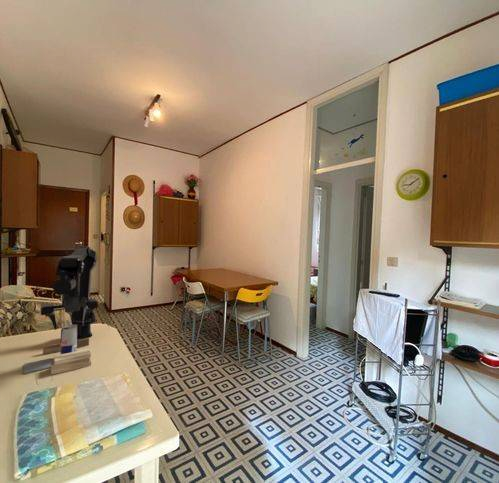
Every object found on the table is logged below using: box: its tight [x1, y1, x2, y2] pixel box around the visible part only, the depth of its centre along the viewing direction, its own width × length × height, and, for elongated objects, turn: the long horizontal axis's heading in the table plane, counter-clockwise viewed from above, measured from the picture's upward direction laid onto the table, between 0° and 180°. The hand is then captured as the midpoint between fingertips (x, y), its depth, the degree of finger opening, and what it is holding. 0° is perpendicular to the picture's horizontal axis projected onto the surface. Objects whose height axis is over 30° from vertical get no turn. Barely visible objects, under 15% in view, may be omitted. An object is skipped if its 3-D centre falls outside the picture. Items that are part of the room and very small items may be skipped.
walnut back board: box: [42, 337, 90, 355], centre depth 113 cm, size 1×16×3 cm, turn 129°
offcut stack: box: [50, 348, 92, 376], centre depth 99 cm, size 5×12×4 cm, turn 129°
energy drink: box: [59, 324, 78, 355], centre depth 107 cm, size 5×5×12 cm
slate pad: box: [23, 357, 53, 375], centre depth 98 cm, size 8×8×1 cm
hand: (69, 327), depth 107 cm, fingers open, 9 cm apart
